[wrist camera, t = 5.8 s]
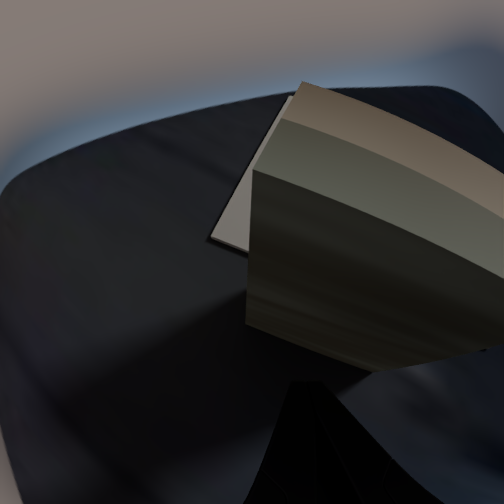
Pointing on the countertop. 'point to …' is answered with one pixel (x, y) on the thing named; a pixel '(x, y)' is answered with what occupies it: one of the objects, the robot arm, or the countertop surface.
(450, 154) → the layered block
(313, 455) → the robot arm
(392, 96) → the countertop surface
